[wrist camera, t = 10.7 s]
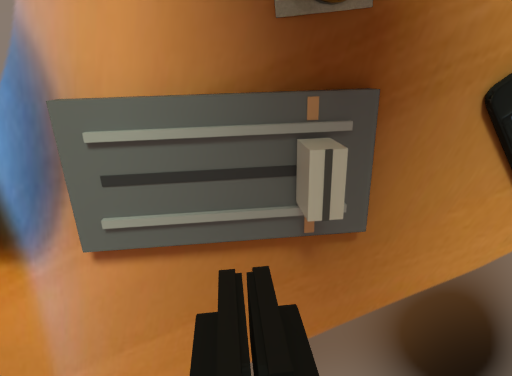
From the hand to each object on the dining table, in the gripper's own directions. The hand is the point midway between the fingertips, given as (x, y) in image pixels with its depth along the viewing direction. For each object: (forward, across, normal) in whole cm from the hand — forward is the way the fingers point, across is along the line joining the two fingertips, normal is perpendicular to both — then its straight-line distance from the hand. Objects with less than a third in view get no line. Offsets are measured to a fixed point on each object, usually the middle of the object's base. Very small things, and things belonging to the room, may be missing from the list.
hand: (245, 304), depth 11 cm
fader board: (+21, +1, +2) cm, 21 cm away
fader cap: (+19, -7, +2) cm, 20 cm away
